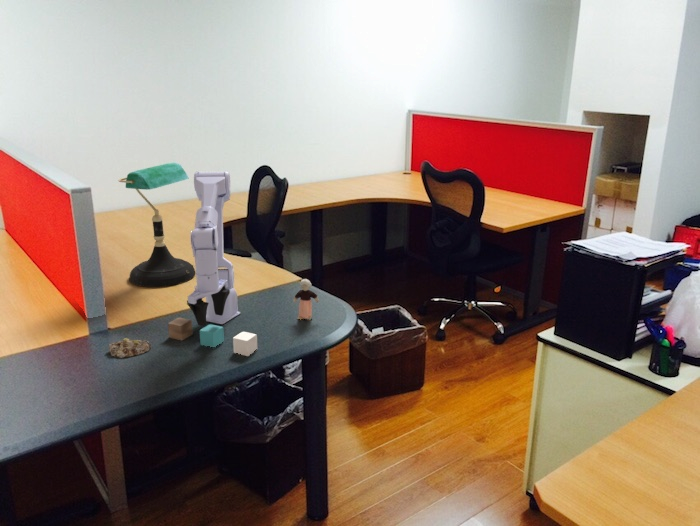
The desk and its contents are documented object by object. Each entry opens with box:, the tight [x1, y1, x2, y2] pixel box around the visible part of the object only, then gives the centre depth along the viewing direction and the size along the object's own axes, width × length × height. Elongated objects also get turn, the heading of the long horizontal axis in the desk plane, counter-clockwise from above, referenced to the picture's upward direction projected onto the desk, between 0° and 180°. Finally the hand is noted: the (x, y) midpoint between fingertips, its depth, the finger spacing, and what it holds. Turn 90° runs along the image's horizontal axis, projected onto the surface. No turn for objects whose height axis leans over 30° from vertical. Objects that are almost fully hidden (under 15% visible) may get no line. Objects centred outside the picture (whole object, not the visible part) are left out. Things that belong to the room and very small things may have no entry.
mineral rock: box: [108, 337, 152, 359], centre depth 156 cm, size 11×4×8 cm
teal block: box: [199, 323, 225, 348], centre depth 161 cm, size 4×4×4 cm
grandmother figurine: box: [292, 278, 320, 321], centre depth 176 cm, size 8×4×13 cm, turn 99°
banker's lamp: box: [118, 162, 196, 288], centre depth 208 cm, size 26×23×40 cm
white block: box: [232, 331, 258, 357], centre depth 156 cm, size 4×4×4 cm
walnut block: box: [167, 317, 193, 341], centre depth 165 cm, size 4×4×4 cm
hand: (210, 319), depth 159 cm, fingers open, 7 cm apart
